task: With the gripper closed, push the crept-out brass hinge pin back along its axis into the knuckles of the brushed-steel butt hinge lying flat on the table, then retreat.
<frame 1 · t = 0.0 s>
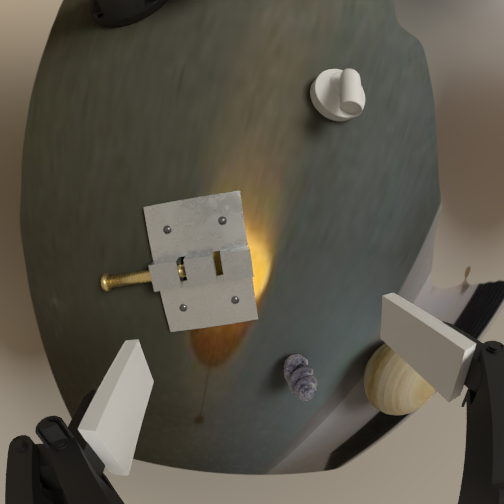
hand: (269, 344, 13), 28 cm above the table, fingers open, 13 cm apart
decorative ball: (382, 356, 49), on the table
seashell: (292, 361, 46), on the table
pin: (151, 275, 38), point 2 cm above the table, slide at 7.0 cm
wall hook: (333, 101, 38), on the table
hinge leaves: (201, 264, 41), on the table
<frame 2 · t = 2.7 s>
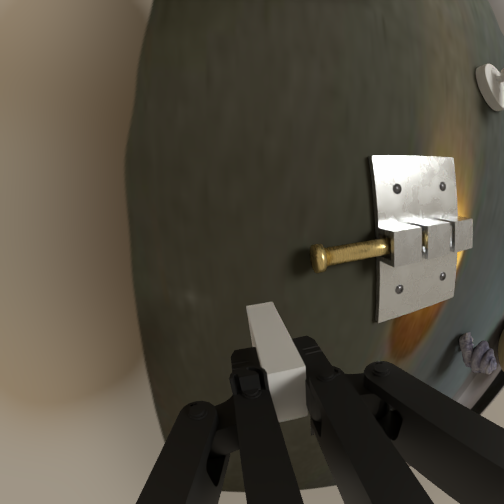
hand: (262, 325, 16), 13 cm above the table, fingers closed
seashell: (458, 341, 35), on the table
pin: (381, 247, 27), point 2 cm above the table, slide at 7.0 cm
wall hook: (488, 91, 27), on the table
hinge leaves: (420, 235, 30), on the table
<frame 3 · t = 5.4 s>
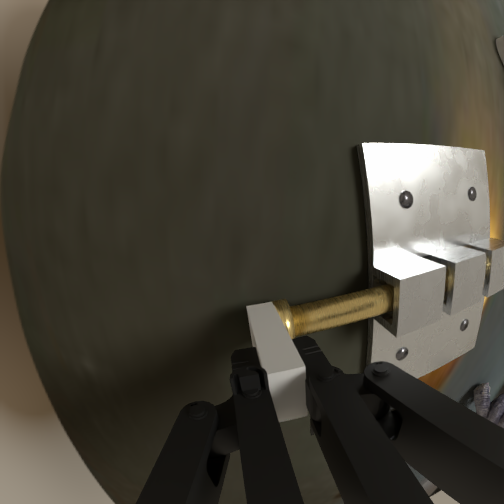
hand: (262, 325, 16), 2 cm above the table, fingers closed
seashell: (472, 392, 24), on the table
pin: (392, 296, 16), point 2 cm above the table, slide at 5.8 cm, touching gripper
hinge leaves: (438, 270, 18), on the table
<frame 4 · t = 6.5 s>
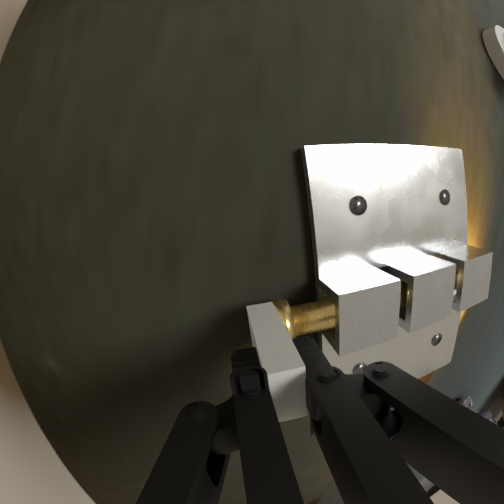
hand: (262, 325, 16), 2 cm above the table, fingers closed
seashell: (452, 406, 24), on the table
pin: (392, 297, 16), point 2 cm above the table, slide at 1.8 cm, touching gripper
wall hook: (501, 62, 16), on the table
hinge leaves: (402, 282, 18), on the table
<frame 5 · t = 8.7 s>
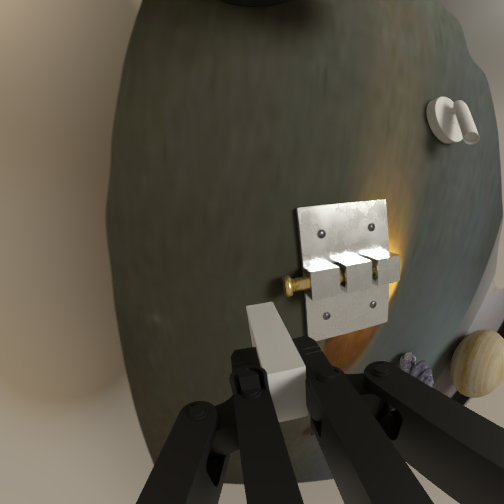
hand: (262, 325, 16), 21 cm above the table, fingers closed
decorative ball: (459, 350, 47), on the table
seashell: (401, 359, 44), on the table
pin: (339, 276, 37), point 2 cm above the table, slide at 1.8 cm
wall hook: (441, 124, 37), on the table
hinge leaves: (347, 270, 39), on the table
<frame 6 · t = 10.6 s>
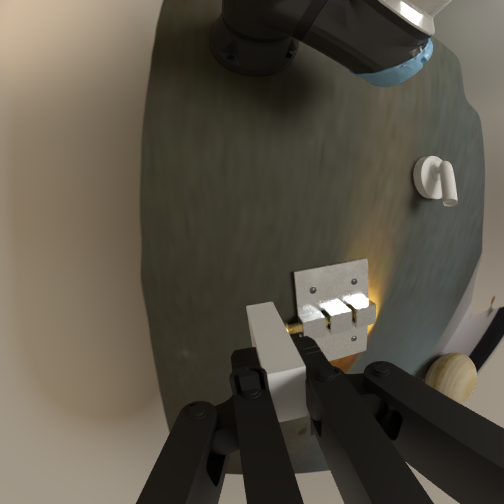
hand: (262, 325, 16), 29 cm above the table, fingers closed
decorative ball: (434, 367, 57), on the table
pin: (326, 321, 47), point 2 cm above the table, slide at 1.8 cm
wall hook: (426, 180, 47), on the table
hinge leaves: (333, 314, 49), on the table
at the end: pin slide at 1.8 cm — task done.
